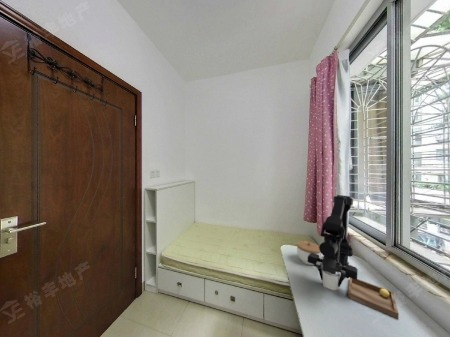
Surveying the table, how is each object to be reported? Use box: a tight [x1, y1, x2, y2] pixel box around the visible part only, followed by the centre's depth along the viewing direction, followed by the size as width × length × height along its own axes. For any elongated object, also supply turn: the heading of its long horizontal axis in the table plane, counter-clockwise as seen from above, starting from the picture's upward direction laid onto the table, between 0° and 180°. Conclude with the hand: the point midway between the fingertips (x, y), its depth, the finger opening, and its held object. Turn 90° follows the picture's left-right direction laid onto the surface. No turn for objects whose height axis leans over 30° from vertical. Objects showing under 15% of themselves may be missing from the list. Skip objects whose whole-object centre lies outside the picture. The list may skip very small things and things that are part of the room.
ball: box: [380, 288, 389, 297], centre depth 71 cm, size 3×3×3 cm
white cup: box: [322, 269, 341, 291], centre depth 76 cm, size 7×7×7 cm
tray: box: [347, 277, 400, 320], centre depth 70 cm, size 15×15×2 cm
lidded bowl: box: [296, 240, 322, 266], centre depth 96 cm, size 13×13×11 cm
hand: (330, 283), depth 76 cm, fingers closed on white cup, 6 cm apart
